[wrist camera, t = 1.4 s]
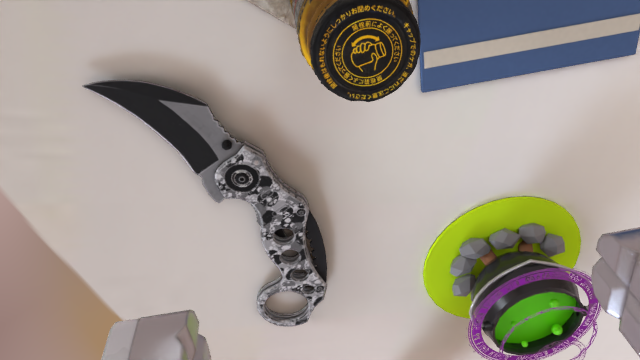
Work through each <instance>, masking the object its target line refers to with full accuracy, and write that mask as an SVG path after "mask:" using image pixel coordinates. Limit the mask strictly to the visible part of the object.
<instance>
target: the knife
mask: <svg viewBox="0 0 640 360" xmlns="http://www.w3.org/2000/svg"><path fill="white" fill-rule="evenodd" d="M83 87H84V88H86V89H88V90H90V91H92V92H94V93H96V94H98V95H100V96H102V97H104V98H106V99H107V100H109V101H111V102H113V103H115V104H117V105H118V106H120V107H122V108H123V109H125V110H126V111H128V112H129V113H131V114H132V115H134V116H135V117H137V118H139V119H140V120H142V121H143V122H144V123H145V124H146V125H147V126H149V127H150V128H151V129H152V130H153V131H155V132H156V133H157V134H158V135H159V136H160V137H162V138H163V139H164V140H165V141H166V142H168V143H169V144H170V145H171V146H172V147H173V148H175V149H176V150H177V151H178V153H179V154H180V155H181V156H182V158H183V159H184V160H185V162H186V163H187V164H188V165H189V167H190V168H191V169H192V170H193V172H194V173H195V174H197V175H199V176H200V177H202V182H203V185H204V187H205V189H206V190H207V192H208V194H209V195H210V196H211V197H212V198H213V200H214V201H216V202H218V203H221V202H222V201H223V200H224V199H227V198H237V199H242V200H245V201H247V202H249V203H251V205H252V206H254V209H255V212H256V213H257V214H256V215H257V219H258V220H257V222H258V223H259V225H260V226H261V240H262V243H263V247H264V249H265V251H266V253H267V255H268V256H269V258H270V259H271V260H272V261H273V262H274V264H275V265H276V266H277V267H278V268H279V270H280V272H281V274H282V275H281V276H280V277H279V278H278V279H277V280H275V281H273V282H270V283H268V284H267V285H265V286H264V287H262V289H261V290H260V291H259V293H258V296H257V308H258V311H259V313H260V315H261V316H262V317H263V318H264V319H265V320H267V321H268V322H270V323H273V324H275V325H279V326H297V325H301V324H303V323H306V322H308V319H309V316H310V315H311V312H312V311H313V309H314V307H315V306H316V305H317V304H318V303H319V302H321V301H322V300H323V299H324V295H325V291H326V287H327V284H326V276H327V263H326V254H325V248H324V244H323V239H322V236H321V233H320V230H319V227H318V225H317V223H316V221H315V219H314V217H313V215H312V214H311V212H310V210H309V208H308V207H309V204H308V202H307V200H306V198H305V197H304V196H303V194H301V193H299V192H297V191H295V190H294V189H292V188H291V187H289V186H288V185H287V184H286V183H284V182H282V180H281V179H280V178H279V177H277V175H276V173H275V172H273V170H272V168H271V167H270V166H269V163H268V161H267V160H266V156H265V153H264V151H263V150H261V149H259V148H257V147H256V146H254V145H252V144H250V143H248V142H246V141H244V142H243V143H241V142H237V141H236V139H235V138H234V137H230V133H229V132H225V131H224V127H223V126H220V125H219V122H218V120H215V119H214V116H213V114H212V112H211V110H210V108H209V106H208V105H207V103H204V102H202V101H200V100H198V99H196V98H194V97H192V96H190V95H187V94H185V93H182V92H179V91H177V90H174V89H171V88H168V87H164V86H161V85H157V84H152V83H148V82H142V81H130V80H108V81H101V82H94V83H90V84H86V85H83ZM282 228H286V229H290V230H292V231H293V232H294V233H293V234H292V235H290V236H289V237H287V236H286V235H285V233H284V231H283V229H282ZM305 230H306V231H308V232H307V233H306V236H305ZM306 237H307V238H308V239H311V241H310V246H311V247H313V248H314V249H313V250H312V256H313V257H316V258H314V259H313V260H312V259H311V256H310V254H309V251H308V248H307V245H306ZM286 250H295V251H297V252H298V254H297V255H295V256H291V257H290V256H285V255H283V254H282V252H284V251H286ZM316 265H317V266H316ZM296 269H303V270H306V271H305V272H303V273H295V272H293V271H294V270H296ZM307 285H311V286H307ZM283 291H291V292H296V293H299V294H301V295H303V296H304V297H305V298H306V299H307V301H308V303H307V305H306V306H305V308H303V309H302V310H301V311H298V312H296V313H292V314H279V313H276V312H273V311H271V310H270V309H268V308H267V306H266V304H265V301H266V300H267V298H268V297H270V296H271V295H273V294H275V293H278V292H283Z"/></svg>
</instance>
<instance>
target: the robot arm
mask: <svg viewBox="0 0 640 360" xmlns="http://www.w3.org/2000/svg"><path fill="white" fill-rule="evenodd" d="M596 250H597V252H598V253H599V254H600V255H601V256H602V257H601V258H600V259H599V261H598V262H597V263H596V264H595V265H594V266H593V269H592V276H591V281H592V286H593V291H594V294H595V296H596V298H597V300H598V302H599V304H600V305H601V306H602V308H603V309H604V311H605V312H606V313H608V314H610V315H612V316H614V317H616V318H618V319H620V326H619V331H620V332H621V333H622V335H623V336H624V337H625V338H626V340H627V341H628V342H629V344H630V345H631V346H632V348H633V349H634V350H635V352H636V353H637V354H638V355H639V357H640V227H638V228H633V229H628V230H622V231H617V232H612V233H607V234H602V236H601V237H600V238H599V240H598V243H597V248H596ZM198 329H199V321H198V319H197V316H196V314H195V312H194V311H192V310H186V311H180V312H174V313H167V314H161V315H155V316H148V317H142V318H139V319H133V320H126V321H120V322H116V323H115V324H114V325H113V326H112V328H111V329H110V332H109V336H108V339H107V342H106V346H105V349H104V353H103V356H102V359H101V360H211V355H210V351H209V347H208V344H207V341H206V339H205V337H203V336H202V335H200V334H198Z"/></svg>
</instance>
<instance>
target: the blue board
mask: <svg viewBox="0 0 640 360" xmlns="http://www.w3.org/2000/svg"><path fill="white" fill-rule="evenodd" d="M418 22H419V30H420V34H421V35H420V38H421V45H420V73H421V91H422V92H423V93H424V92H429V91H435V90H440V89H446V88H451V87H457V86H462V85H468V84H473V83H479V82H484V81H490V80H495V79H501V78H507V77H512V76H518V75H523V74H529V73H534V72H540V71H545V70H551V69H556V68H562V67H567V66H573V65H578V64H584V63H590V62H595V61H601V60H606V59H612V58H617V57H623V56H628V55H634V54H635V53H636V48H637V43H638V38H639V33H640V0H418Z"/></svg>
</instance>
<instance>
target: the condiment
mask: <svg viewBox="0 0 640 360" xmlns="http://www.w3.org/2000/svg"><path fill="white" fill-rule="evenodd" d="M247 1H249V2H251V3H252V4H254V5H256V6H258V7H259V8H261V9H263V10H264V11H266V12H267V13H269V14H271V15H273V16H275V17H276V18H278V19H279V20H281V21H283V22H285V23H286V24H288V25H290V26H292V27H293V28H295V29H297V34H298V40H299V44H300V48H301V52H302V55H303V56H304V57H305V59H306V60H307V63H308V64H309V65H310V66H311V67H312V69H313V70H314V72H315V75H317V77H318V79H319V80H320V81H321V84H323V85H324V86H325V87H326V88H328V90H330V91H331V92H333V93H335V94H337V95H338V96H340V97H342V98H345V99H347V100H350V101H367V102H370V101H375V100H378V99H381V98H383V97H385V96H387V95H389V94H391V93H392V92H394V91H396V90H397V89H398V88H399V87H400V86H401V85H402V84H403V83H404V82H405V81H406V80H407V78H408V77H409V76H410V75H411V74H412V72H413V71H414V69H415V67H416V65H417V60H418V57H419V55H420V45H421V38H420V35H421V34H420V30H419V27H418V24H417V21H416V18H415V17H414V15H413V11H412V7H411V5H410V2H409V0H247Z"/></svg>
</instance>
